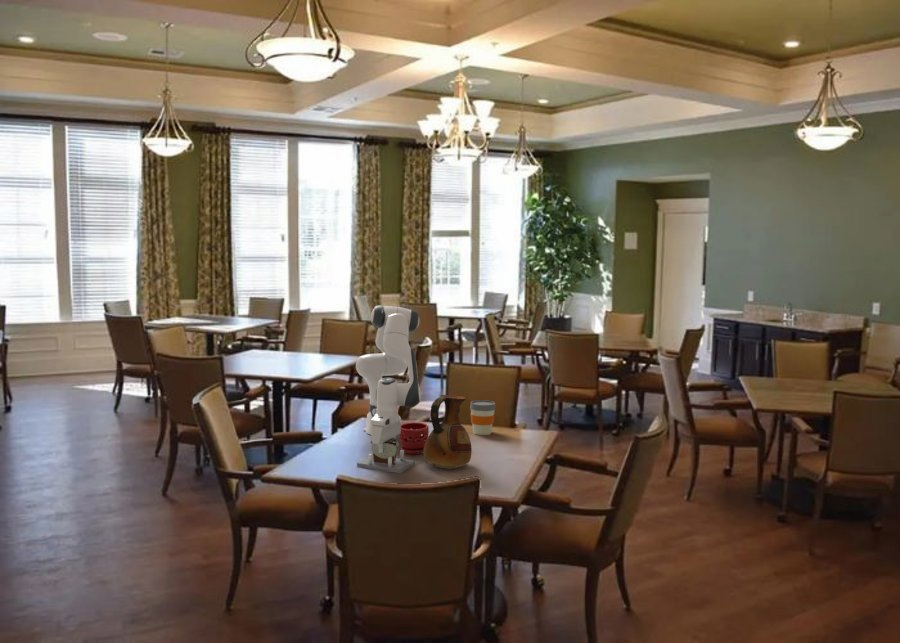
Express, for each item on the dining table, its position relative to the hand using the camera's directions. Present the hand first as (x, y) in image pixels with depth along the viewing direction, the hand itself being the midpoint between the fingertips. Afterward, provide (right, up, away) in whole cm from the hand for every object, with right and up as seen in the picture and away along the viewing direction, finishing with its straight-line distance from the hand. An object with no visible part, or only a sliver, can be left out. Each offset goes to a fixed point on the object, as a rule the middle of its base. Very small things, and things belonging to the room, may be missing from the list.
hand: (386, 449), depth 323 cm
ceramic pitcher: (+25, -7, +2) cm, 26 cm away
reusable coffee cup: (+42, -2, +60) cm, 73 cm away
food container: (0, -5, 0) cm, 5 cm away
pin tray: (0, -7, +1) cm, 7 cm away
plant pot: (+10, -5, +22) cm, 25 cm away
